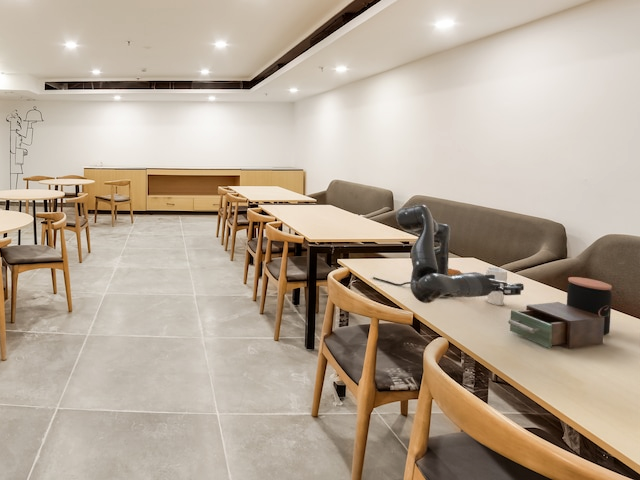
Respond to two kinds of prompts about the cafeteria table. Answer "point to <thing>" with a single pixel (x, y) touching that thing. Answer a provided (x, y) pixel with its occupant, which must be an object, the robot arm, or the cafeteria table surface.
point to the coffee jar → (591, 297)
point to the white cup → (500, 275)
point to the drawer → (538, 327)
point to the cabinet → (575, 324)
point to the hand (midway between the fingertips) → (507, 281)
